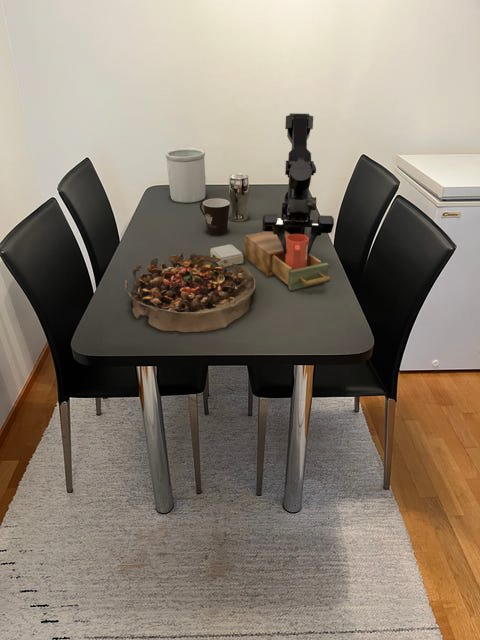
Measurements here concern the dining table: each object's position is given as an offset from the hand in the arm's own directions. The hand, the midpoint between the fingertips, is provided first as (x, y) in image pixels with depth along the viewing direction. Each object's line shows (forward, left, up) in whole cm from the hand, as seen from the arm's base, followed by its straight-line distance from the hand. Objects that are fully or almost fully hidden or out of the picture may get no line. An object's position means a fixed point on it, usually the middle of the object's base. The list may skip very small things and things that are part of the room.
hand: (296, 253), depth 133 cm
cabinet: (-1, -12, -8) cm, 15 cm away
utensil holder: (+1, -80, -8) cm, 80 cm away
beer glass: (-7, -50, -8) cm, 51 cm away
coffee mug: (+5, -43, -8) cm, 44 cm away
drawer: (-1, +1, -7) cm, 7 cm away
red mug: (0, 0, -4) cm, 4 cm away
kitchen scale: (+11, -20, -8) cm, 24 cm away
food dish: (+28, -4, -8) cm, 30 cm away
